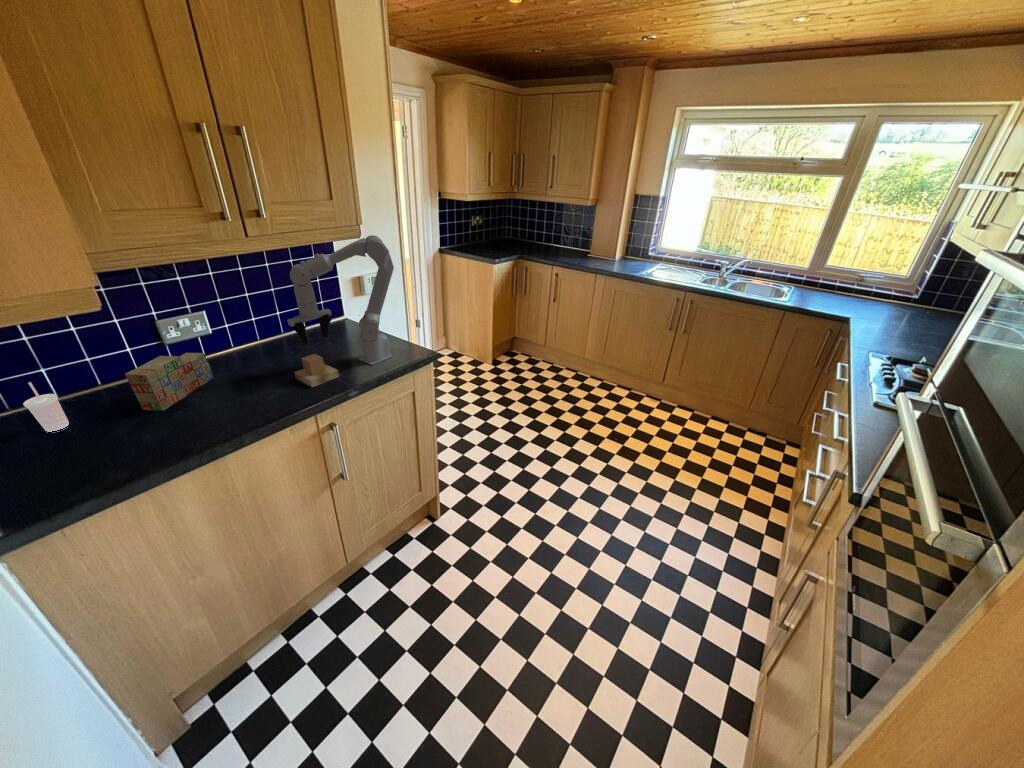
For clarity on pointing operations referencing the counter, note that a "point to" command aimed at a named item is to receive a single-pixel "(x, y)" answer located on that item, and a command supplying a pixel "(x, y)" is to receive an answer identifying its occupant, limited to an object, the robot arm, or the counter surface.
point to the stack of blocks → (168, 379)
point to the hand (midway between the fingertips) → (315, 339)
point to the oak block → (317, 376)
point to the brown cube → (313, 364)
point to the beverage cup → (47, 411)
